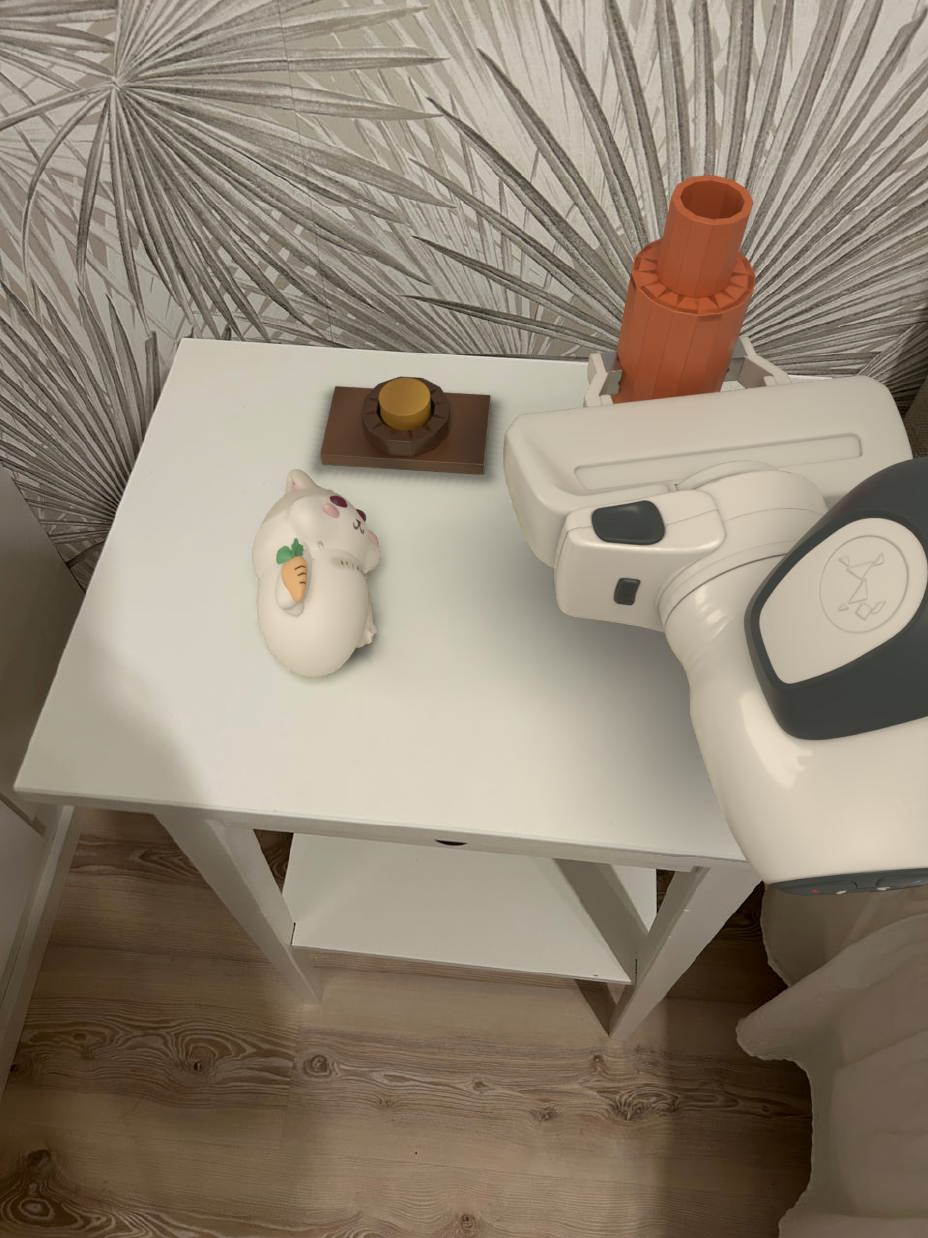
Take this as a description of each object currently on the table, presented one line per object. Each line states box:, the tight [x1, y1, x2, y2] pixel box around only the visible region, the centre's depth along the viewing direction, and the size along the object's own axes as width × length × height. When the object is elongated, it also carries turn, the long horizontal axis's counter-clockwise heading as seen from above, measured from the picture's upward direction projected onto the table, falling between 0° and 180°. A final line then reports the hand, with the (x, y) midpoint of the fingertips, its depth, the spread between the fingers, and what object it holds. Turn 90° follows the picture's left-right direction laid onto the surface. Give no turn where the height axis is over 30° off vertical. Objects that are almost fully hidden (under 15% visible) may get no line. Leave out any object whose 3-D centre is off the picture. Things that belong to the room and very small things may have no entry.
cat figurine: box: [251, 468, 382, 678], centre depth 61 cm, size 10×8×15 cm
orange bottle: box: [611, 174, 757, 404], centre depth 50 cm, size 6×6×22 cm
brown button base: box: [319, 376, 492, 475], centre depth 72 cm, size 13×8×3 cm, turn 85°
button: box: [379, 378, 431, 431], centre depth 70 cm, size 4×4×2 cm
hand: (664, 353), depth 50 cm, fingers closed on orange bottle, 6 cm apart
